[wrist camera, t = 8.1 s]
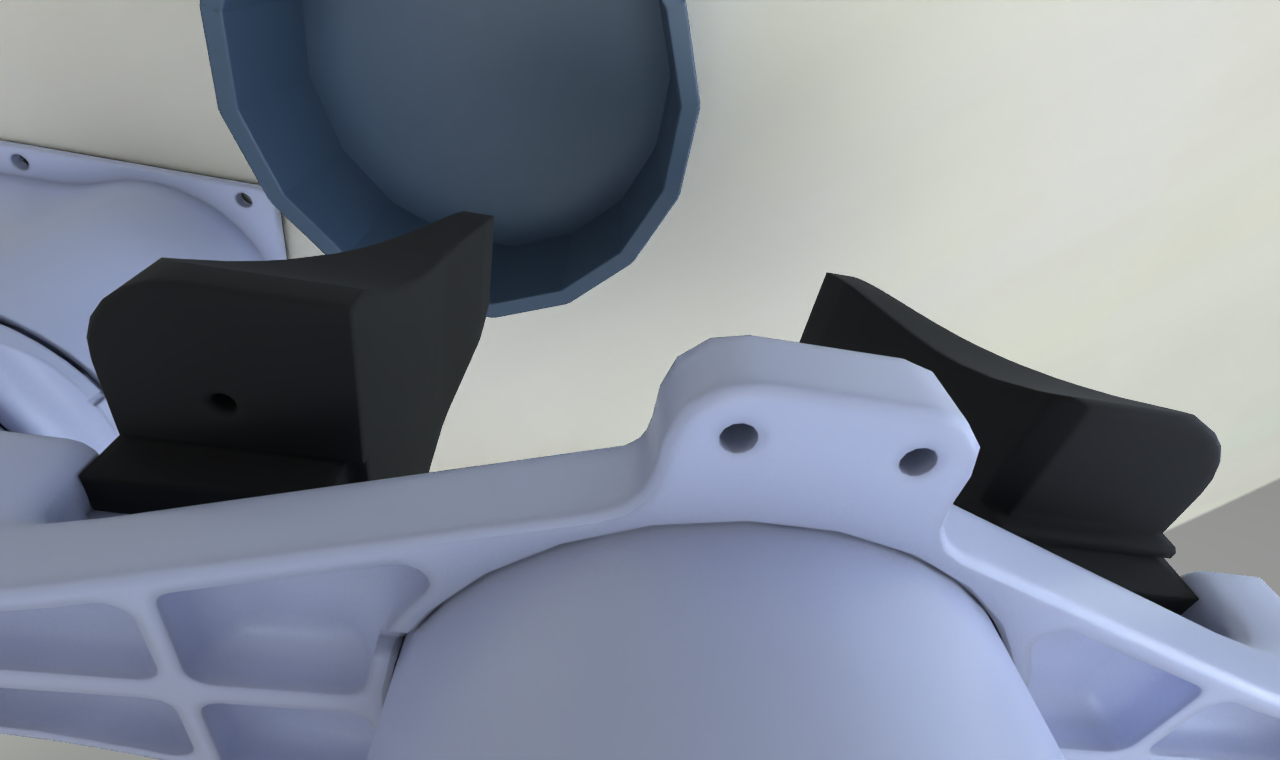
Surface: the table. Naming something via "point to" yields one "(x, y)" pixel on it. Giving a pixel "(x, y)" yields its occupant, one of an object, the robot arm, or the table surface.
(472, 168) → the tub
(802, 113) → the table surface
